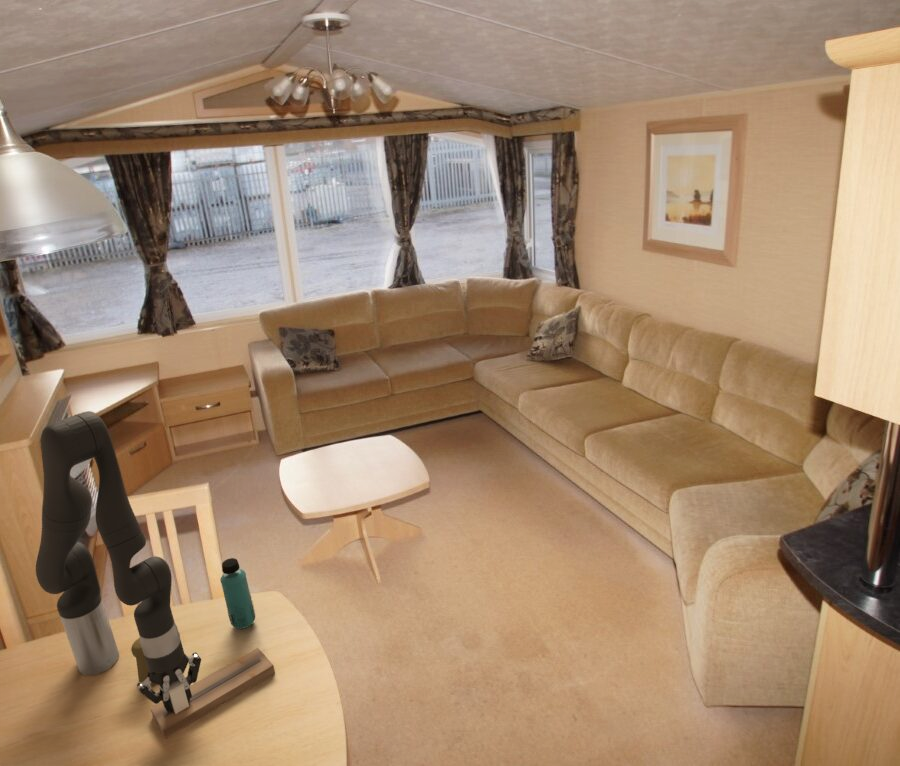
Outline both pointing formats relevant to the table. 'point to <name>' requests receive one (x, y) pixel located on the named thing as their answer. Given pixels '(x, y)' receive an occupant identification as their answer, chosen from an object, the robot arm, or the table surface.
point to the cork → (140, 661)
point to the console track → (215, 691)
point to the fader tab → (178, 696)
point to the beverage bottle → (237, 594)
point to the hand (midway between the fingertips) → (178, 704)
